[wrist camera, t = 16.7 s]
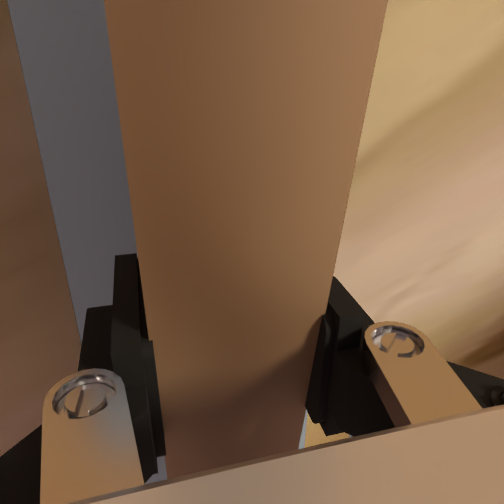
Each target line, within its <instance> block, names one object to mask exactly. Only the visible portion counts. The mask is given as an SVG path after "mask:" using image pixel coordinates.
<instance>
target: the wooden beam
mask: <svg viewBox="0 0 504 504" xmlns="http://www.w3.org/2000/svg"><path fill="white" fill-rule="evenodd" d="M387 2H388V0H104V6H105V14H106V21H107V29H108V36H109V44H110V51H111V59H112V66H113V74H114V81H115V89H116V96H117V104H118V111H119V119H120V126H121V134H122V141H123V149H124V156H125V164H126V171H127V179H128V186H129V194H130V201H131V209H132V216H133V224H134V231H135V239H136V246H137V254H138V261H139V269H140V276H141V284H142V291H143V299H144V306H145V314H146V321H147V329H148V336H149V341H150V340H153V347H154V355H155V363H156V371H157V379H158V387H159V395H160V403H161V411H162V419H163V427H164V435H165V445H166V456H164V457H165V464H166V472H167V479H171V478H175V477H180V476H184V475H188V474H193V473H197V472H201V471H206V470H210V469H214V468H219V467H223V466H227V465H232V464H236V463H240V462H245V461H249V460H253V459H258V458H262V457H267V456H271V455H276V454H280V453H284V452H289V451H293V450H298V448H299V443H300V438H301V433H302V428H303V423H304V418H305V413H306V407H305V402H306V397H307V391H308V386H309V381H310V376H311V371H312V366H313V360H314V355H315V350H316V345H317V340H318V335H319V330H320V324H321V319H322V314H325V313H326V308H327V303H328V298H329V293H330V288H331V283H332V278H333V273H334V268H335V263H336V258H337V253H338V248H339V243H340V238H341V233H342V228H343V223H344V218H345V213H346V208H347V202H348V197H349V192H350V187H351V182H352V177H353V172H354V167H355V162H356V157H357V152H358V147H359V142H360V137H361V132H362V127H363V122H364V117H365V112H366V107H367V102H368V97H369V92H370V87H371V82H372V77H373V72H374V67H375V62H376V57H377V52H378V47H379V42H380V37H381V32H382V27H383V22H384V17H385V12H386V7H387Z"/></svg>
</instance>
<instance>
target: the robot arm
mask: <svg viewBox="0 0 504 504" xmlns="http://www.w3.org/2000/svg"><path fill="white" fill-rule="evenodd" d="M305 407H306V410H307V412H308V414H309V416H310V418H311V420H312V422H313V423H315V424H316V423H320V425H321V427H322V429H323V431H324V433H325V435H326V436H329V435H334V434H338V433H343V432H345V433H347V434H349V438H347V439H342V440H338V441H333V442H329V443H324V444H320V445H315V446H311V447H307V448H302V449H298V450H293V451H289V452H284V453H280V454H276V455H271V456H267V457H262V458H258V459H253V460H249V461H245V462H240V463H236V464H232V465H227V466H223V467H219V468H214V469H210V470H206V471H201V472H197V473H193V474H188V475H184V476H180V477H175V478H171V479H167V480H162V481H158V482H154V483H149V484H145V483H146V482H147V481H148V480H149V478H150V477H151V476H152V475H153V474H158V464H157V457H161V456H166V445H165V435H164V427H163V419H162V411H161V403H160V395H159V387H158V379H157V371H156V363H155V355H154V347H153V340H150V341H149V336H148V329H147V321H146V314H145V306H144V299H143V291H142V284H141V276H140V269H139V261H138V259H137V253H133V254H124V255H115V264H114V285H113V305H106V306H99V307H91V308H87V311H86V317H85V325H84V332H83V339H82V346H81V353H80V360H79V367H78V372H76V373H73V374H70V375H68V376H67V377H65V378H63V379H61V380H60V381H59V382H57V383H56V384H55V385H54V386H53V387H52V388H51V389H50V390H49V392H48V393H47V395H46V396H45V399H44V403H43V411H42V425H40V426H39V427H38V428H37V429H35V430H34V431H33V432H31V433H30V434H29V435H28V436H26V437H25V438H24V439H23V440H21V441H20V442H19V443H18V444H16V445H15V446H14V447H12V448H11V449H10V450H9V451H7V452H6V453H5V454H4V455H2V456H1V457H0V504H504V380H503V379H500V378H497V377H494V376H491V375H488V374H485V373H482V372H479V371H475V370H472V369H469V368H466V367H463V366H460V365H457V364H454V363H451V362H448V361H446V360H445V359H444V358H443V356H442V355H441V354H440V353H439V351H438V350H437V349H436V347H435V346H434V345H433V343H432V342H431V341H430V340H429V338H428V337H427V336H426V335H425V334H424V333H423V332H421V331H419V330H418V329H416V328H414V327H412V326H409V325H407V324H404V323H399V322H389V321H384V322H379V323H374V322H373V320H372V319H371V318H370V317H369V316H368V315H367V313H366V312H365V311H364V310H363V309H362V308H361V306H360V305H359V304H358V303H357V302H356V301H355V299H354V298H353V297H352V296H351V295H350V294H349V292H348V291H347V290H346V289H345V288H344V287H343V285H342V284H341V283H340V282H339V281H338V280H337V279H336V278H335V277H334V276H333V278H332V283H331V288H330V293H329V298H328V303H327V308H326V313H325V314H322V319H321V324H320V330H319V335H318V340H317V345H316V350H315V355H314V360H313V366H312V371H311V376H310V381H309V386H308V391H307V397H306V402H305ZM144 484H145V485H144Z"/></svg>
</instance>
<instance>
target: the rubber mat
mask: <svg viewBox="0 0 504 504" xmlns="http://www.w3.org/2000/svg"><path fill="white" fill-rule="evenodd" d="M7 2H8V7H9V11H10V16H11V20H12V25H13V30H14V34H15V39H16V44H17V48H18V53H19V58H20V62H21V67H22V71H23V76H24V81H25V85H26V90H27V95H28V99H29V104H30V109H31V113H32V118H33V122H34V127H35V132H36V136H37V141H38V146H39V150H40V155H41V159H42V164H43V169H44V173H45V178H46V183H47V187H48V192H49V197H50V201H51V206H52V210H53V215H54V220H55V224H56V229H57V234H58V238H59V243H60V248H61V252H62V257H63V261H64V266H65V271H66V275H67V280H68V285H69V289H70V294H71V298H72V303H73V308H74V312H75V317H76V322H77V326H78V331H79V336H80V340H81V345H82V339H83V332H84V325H85V317H86V311H87V308H91V307H99V306H106V305H113V285H114V264H115V255H124V254H133V253H137V246H136V239H135V231H134V224H133V216H132V209H131V201H130V194H129V186H128V179H127V171H126V164H125V156H124V149H123V141H122V134H121V126H120V119H119V111H118V104H117V96H116V89H115V81H114V74H113V66H112V59H111V51H110V44H109V36H108V29H107V21H106V14H105V6H104V0H7ZM137 259H138V254H137ZM306 422H307V410H306V413H305V418H304V423H303V428H302V433H301V438H300V443H299V448H298V449H302V448H304V444H305V433H306ZM157 464H158V474H153V475H152V476H151V477H150V478H149V480H148V481H147V482H146V483H145V484H149V483H154V482H158V481H162V480H167V472H166V464H165V457H164V456H161V457H157ZM145 484H144V485H145Z"/></svg>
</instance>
